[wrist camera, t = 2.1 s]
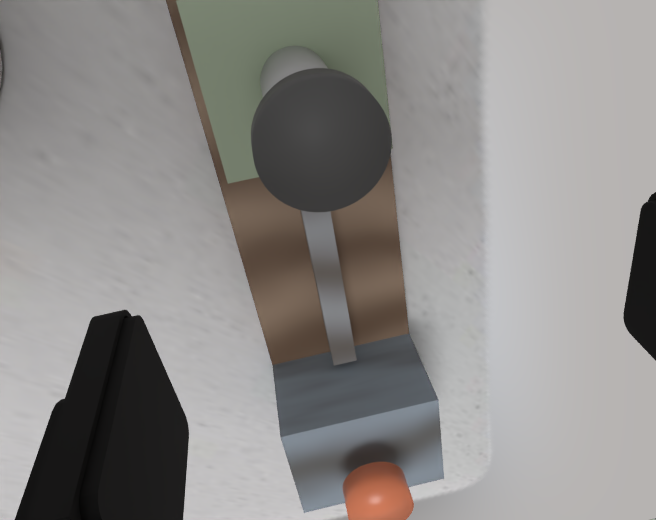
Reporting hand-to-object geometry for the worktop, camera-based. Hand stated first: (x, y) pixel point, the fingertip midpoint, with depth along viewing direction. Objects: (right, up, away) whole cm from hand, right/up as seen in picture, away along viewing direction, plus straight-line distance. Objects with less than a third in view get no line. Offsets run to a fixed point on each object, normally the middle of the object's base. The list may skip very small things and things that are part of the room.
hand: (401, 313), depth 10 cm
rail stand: (-2, +4, +25) cm, 26 cm away
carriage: (-4, +11, +18) cm, 21 cm away
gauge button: (+1, -13, +25) cm, 28 cm away
